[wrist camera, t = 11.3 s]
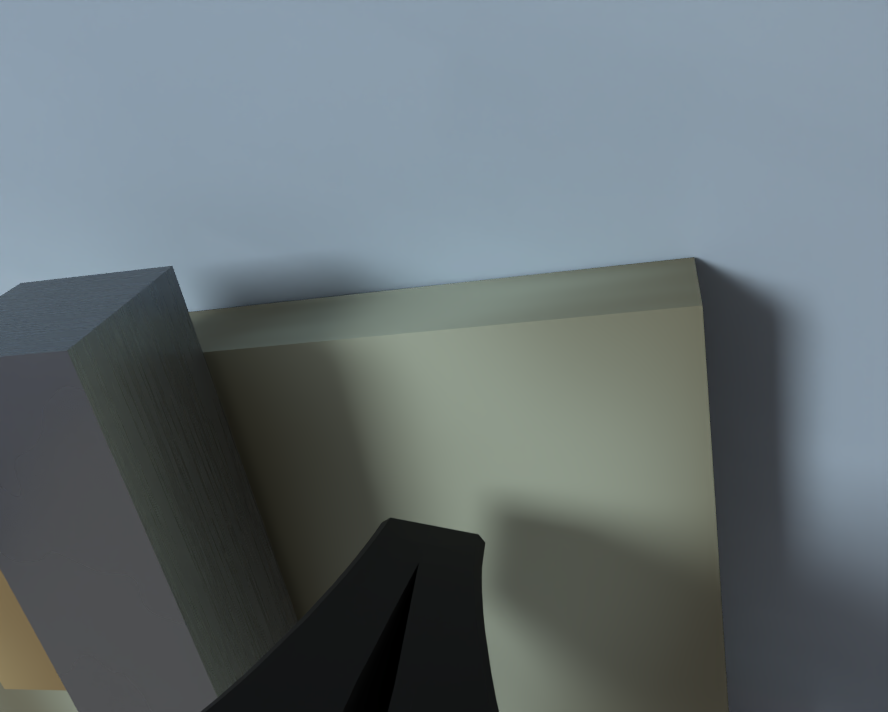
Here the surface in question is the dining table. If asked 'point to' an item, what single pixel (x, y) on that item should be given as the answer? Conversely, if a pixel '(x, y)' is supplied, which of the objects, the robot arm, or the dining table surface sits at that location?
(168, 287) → the swing bar
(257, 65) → the dining table surface
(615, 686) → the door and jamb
